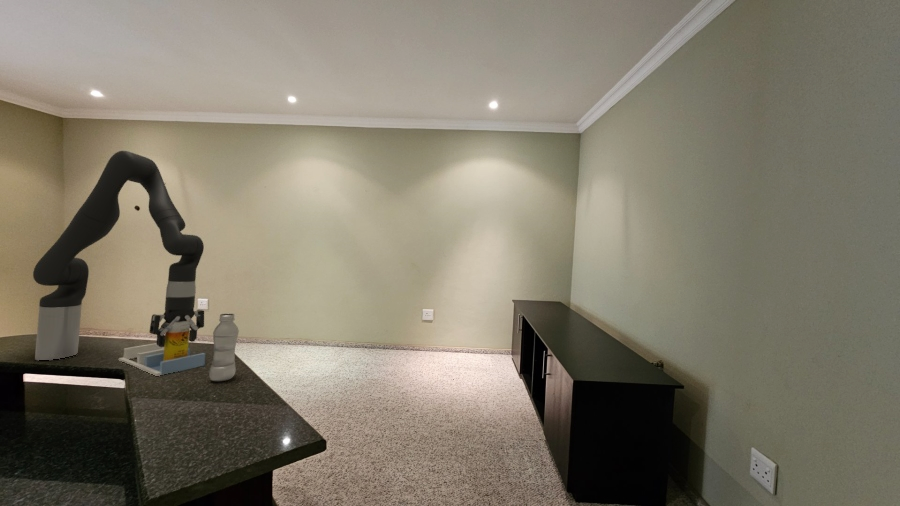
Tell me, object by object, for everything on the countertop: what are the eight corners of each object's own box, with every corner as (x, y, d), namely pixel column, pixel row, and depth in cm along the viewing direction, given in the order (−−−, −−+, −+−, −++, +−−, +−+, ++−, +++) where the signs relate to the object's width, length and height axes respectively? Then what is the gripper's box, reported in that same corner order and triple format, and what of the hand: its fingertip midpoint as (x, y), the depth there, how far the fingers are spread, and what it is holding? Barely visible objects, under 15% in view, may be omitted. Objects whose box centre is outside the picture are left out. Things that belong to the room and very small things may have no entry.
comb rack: (118, 361, 110) (119, 349, 111) (165, 352, 122) (166, 341, 122) (156, 376, 100) (157, 363, 100) (204, 365, 112) (205, 353, 112)
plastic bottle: (204, 380, 100) (209, 314, 100) (227, 374, 106) (232, 311, 106) (215, 385, 97) (221, 317, 97) (239, 379, 103) (244, 314, 103)
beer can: (176, 369, 106) (179, 322, 106) (157, 368, 106) (161, 321, 106) (191, 363, 112) (194, 319, 112) (173, 362, 112) (177, 318, 112)
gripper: (198, 292, 117) (194, 337, 117) (148, 295, 104) (143, 346, 104) (210, 294, 114) (207, 341, 114) (160, 297, 101) (156, 350, 101)
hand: (177, 343), depth 109 cm, fingers open, 8 cm apart
